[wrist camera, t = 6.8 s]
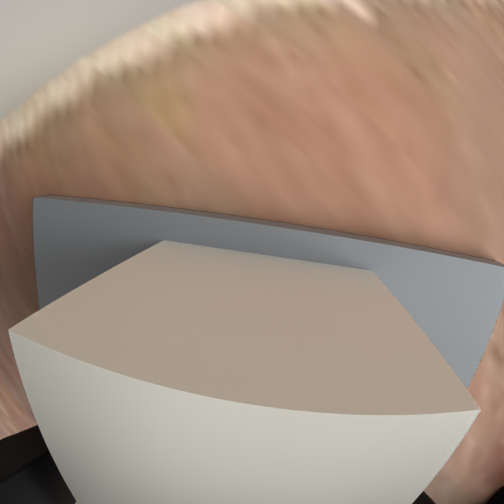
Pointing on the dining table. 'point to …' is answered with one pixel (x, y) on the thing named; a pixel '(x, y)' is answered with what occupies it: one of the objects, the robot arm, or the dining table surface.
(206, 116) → the dining table surface
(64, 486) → the robot arm
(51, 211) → the base plate
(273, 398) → the block
